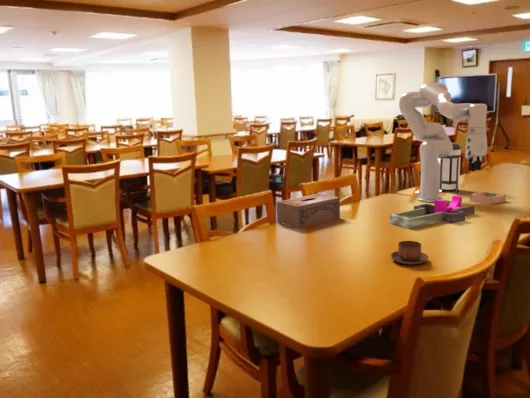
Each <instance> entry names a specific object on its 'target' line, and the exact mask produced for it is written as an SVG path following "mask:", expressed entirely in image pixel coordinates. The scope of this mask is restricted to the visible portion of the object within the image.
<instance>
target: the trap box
mask: <svg viewBox="0 0 530 398" xmlns="http://www.w3.org/2000/svg"><path fill="white" fill-rule="evenodd" d="M449 204H450V202H446V205H447V206H448V205H449ZM434 208H435V204H431V203H423V204H417V205H414V206H413V209H410V210H406V211H401V212H396V213H391V214H389V224H391V225H394V226H398V227H402V228H404V229H405V228H406V229H409V230H410V229H414V228H418V227H424V226H428V225H432V224H436V223H440V222H441V223H442V222H443V223H447V224H451V225H452V224H458V223H461V222H464V221H466V217H467V216H472V215H475V212H476V205H473V204H472V205H468V206H462V208H457V209H452V211H451V213H446V212H438V213H434Z"/></svg>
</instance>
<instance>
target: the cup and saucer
mask: <svg viewBox="0 0 530 398" xmlns="http://www.w3.org/2000/svg"><path fill="white" fill-rule="evenodd" d="M397 248H398V251H397V250H396V251H394V252H391V254H390V256H391V259H392V260H393V261H395V262H397V263H399V264H403V265H419V264H424V263H426V262H427V261H428V260H429V255H427V254H426V253H425V252H422V243H420V242H419V241H415V240H403V241H399V242H398V247H397Z"/></svg>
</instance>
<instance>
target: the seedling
mask: <svg viewBox="0 0 530 398" xmlns="http://www.w3.org/2000/svg"><path fill="white" fill-rule="evenodd" d="M496 193H497V192H493V194H491V193H486V194H485V196H487V197H493V196H496Z"/></svg>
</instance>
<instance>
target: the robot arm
mask: <svg viewBox="0 0 530 398" xmlns="http://www.w3.org/2000/svg"><path fill="white" fill-rule="evenodd" d="M432 105H433V106H435V107H437V111H438V112H439V114H440V115H442V116H444V117H445V118H447V119H449V120H452V121H462V120H463V121H465V120H467V121H468V122H467V123H468V124H467V136H466V141H465V147H464V149H465V154H464V158H465V159H466V160H467V162H468V166H467V167H468V171H469V172H475V171H481V170H482V162H483V159H484V157H485V156H486V155H487V154H488V137H487V133H486V132H487V131H486V129H487V112H488V105H487V104H486V103H472V102H471V103H470V102H469V103H468V102H466V103H464V102H463V103H454V102H452V95H451V92H450V91H448V87H447V85H446V84H445V83H442V82H427V83H424V84H423V85H421V87H420V88H419V91H408V92H404V93H403V94H402V95H401V96H400V98H399V104H398V106H399V107H398V108H399V111H400V113H401V115H402V117H403V118H404V119H405V121H406V123H407V124H408V126H409V128H410V130H411V132H412V133H413V134H412V135H414V137H415V139H416V140H417V141H418V142H422V143H421V144H420V146H419V155H420V156H419V157H420V188H419V189H417V190H416V191H415V194H416V195H418V196H417V197H416V199H417V201H419V202H424V203H425V202H426V203H435V200H438V199H439V200H443V197H441V196H440V192H439V189H440V164H439V161H438V158H439V157H446V156H449V155H450V154H451V153H452V150H453V146H452V143H453V142H452V141H450V139H449V138H450V137H449V135H448V134H447V132H446V131H445V128H444V127H443V125H441V124H440V123H438V122H428V121H427V120H426V118H425V116H424V115H423V113H421V112H420V111H419V110H417V109H418V108H419V109H420V108H428V107H431V106H432Z"/></svg>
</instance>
